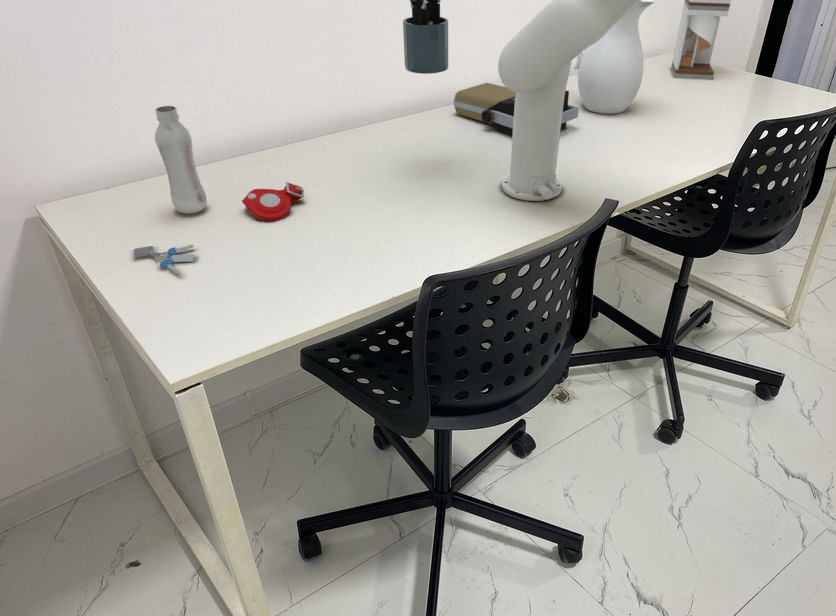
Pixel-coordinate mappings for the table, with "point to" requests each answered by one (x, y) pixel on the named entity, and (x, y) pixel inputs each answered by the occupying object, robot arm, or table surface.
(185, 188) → the plastic bottle
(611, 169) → the table surface
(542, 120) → the robot arm
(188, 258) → the key chain
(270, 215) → the tracker holder
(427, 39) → the tumbler
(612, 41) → the pitcher
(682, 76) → the spiral staircase tower model
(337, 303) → the table surface
